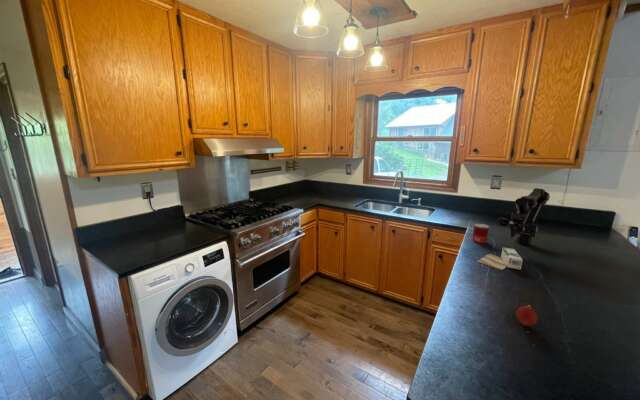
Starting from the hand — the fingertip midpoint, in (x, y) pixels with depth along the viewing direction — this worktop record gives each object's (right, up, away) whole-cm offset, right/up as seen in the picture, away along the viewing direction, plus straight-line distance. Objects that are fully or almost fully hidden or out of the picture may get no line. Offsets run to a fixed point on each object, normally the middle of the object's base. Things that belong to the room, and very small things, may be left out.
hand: (511, 237), depth 150 cm
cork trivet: (-16, -12, -9) cm, 22 cm away
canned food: (-7, -6, +20) cm, 22 cm away
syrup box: (-6, -8, -5) cm, 11 cm away
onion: (-38, -23, -58) cm, 73 cm away
